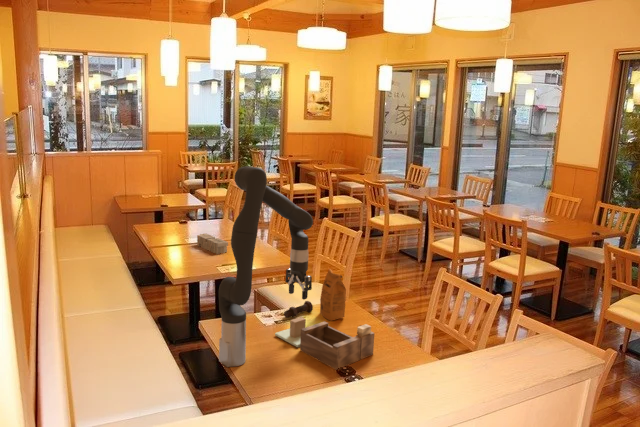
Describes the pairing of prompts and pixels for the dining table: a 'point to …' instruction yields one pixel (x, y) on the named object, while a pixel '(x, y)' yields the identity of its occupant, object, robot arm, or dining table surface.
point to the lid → (293, 332)
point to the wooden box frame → (335, 345)
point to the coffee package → (333, 297)
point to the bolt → (299, 309)
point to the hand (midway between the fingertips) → (297, 296)
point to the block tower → (212, 243)
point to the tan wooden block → (363, 330)
